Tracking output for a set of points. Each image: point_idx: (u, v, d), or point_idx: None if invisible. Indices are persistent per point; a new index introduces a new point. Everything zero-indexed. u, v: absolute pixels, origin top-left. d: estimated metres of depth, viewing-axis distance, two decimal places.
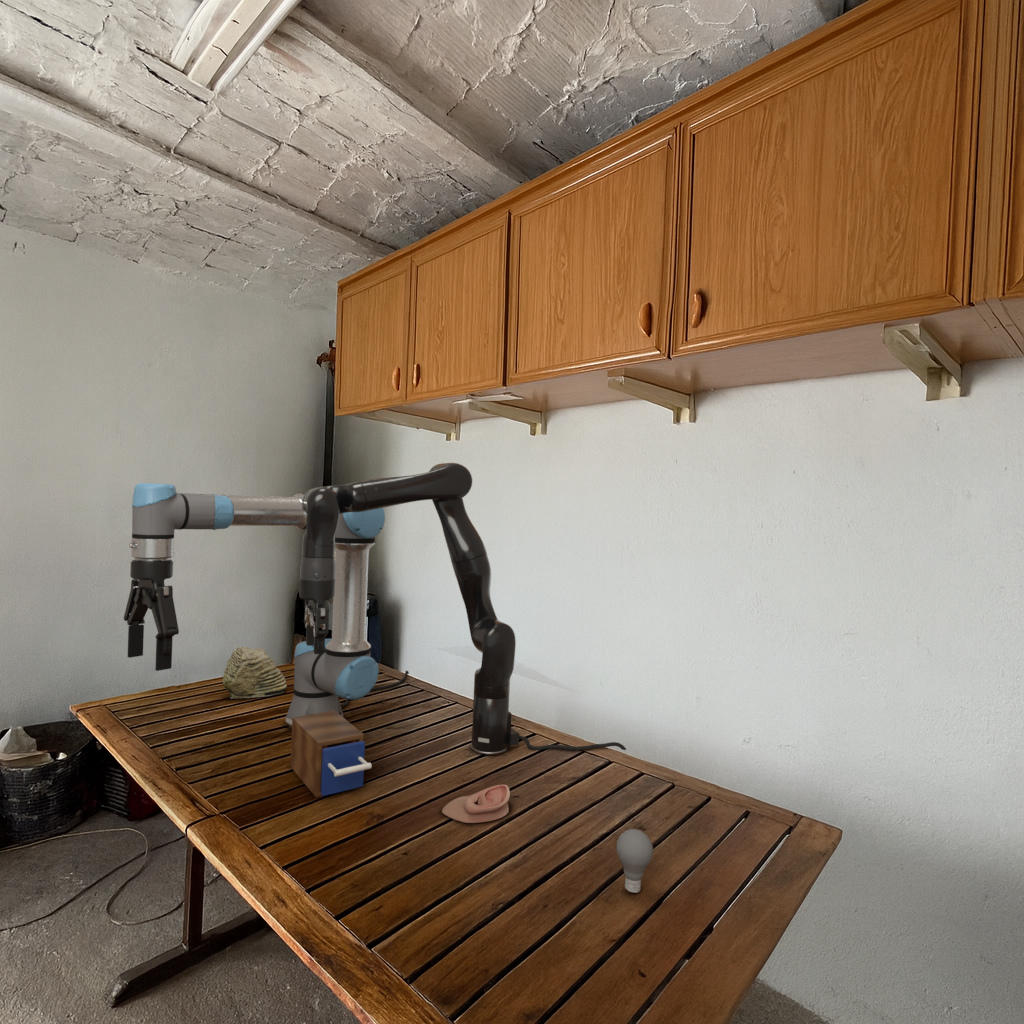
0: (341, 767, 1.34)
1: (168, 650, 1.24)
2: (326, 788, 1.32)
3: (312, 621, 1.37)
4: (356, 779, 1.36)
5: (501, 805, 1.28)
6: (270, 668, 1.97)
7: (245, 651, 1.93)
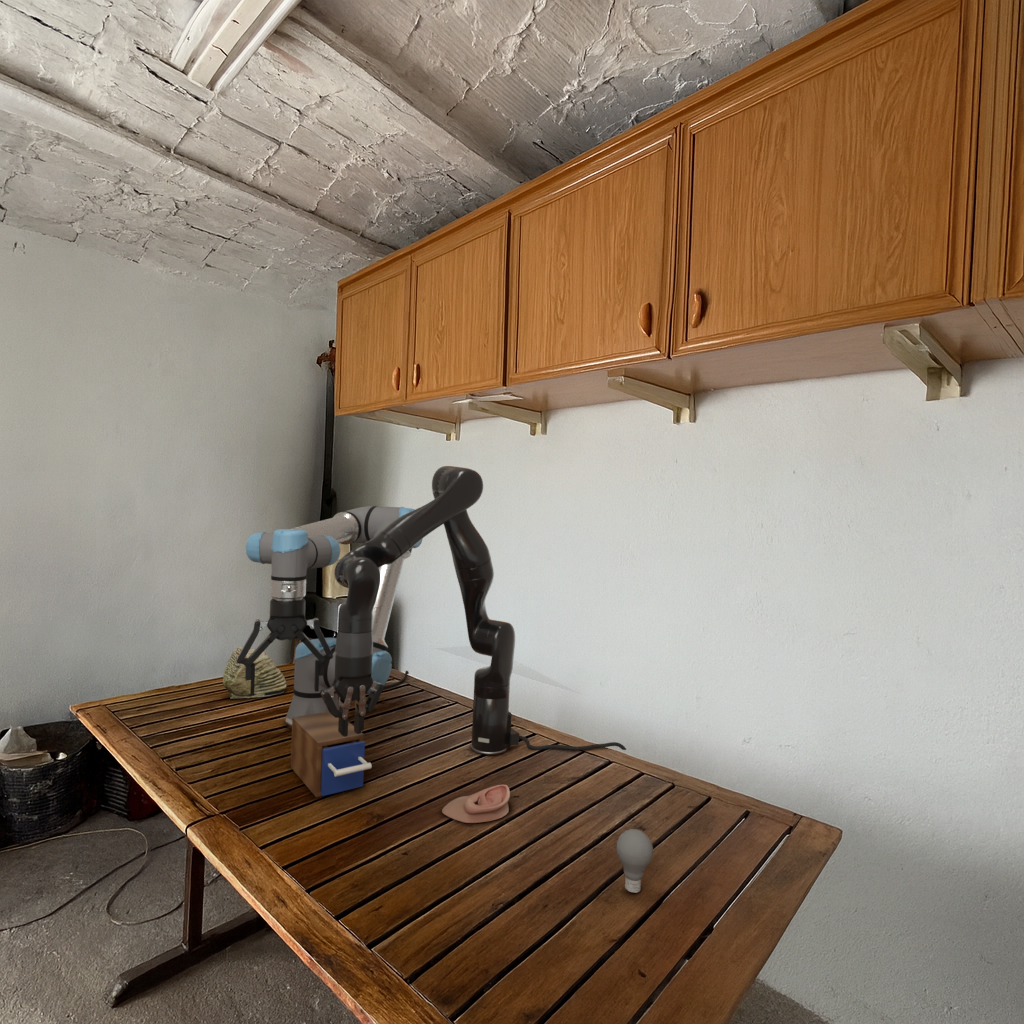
0: (341, 767, 1.34)
1: None
2: (326, 788, 1.32)
3: None
4: (356, 779, 1.36)
5: (501, 805, 1.28)
6: (270, 668, 1.97)
7: None
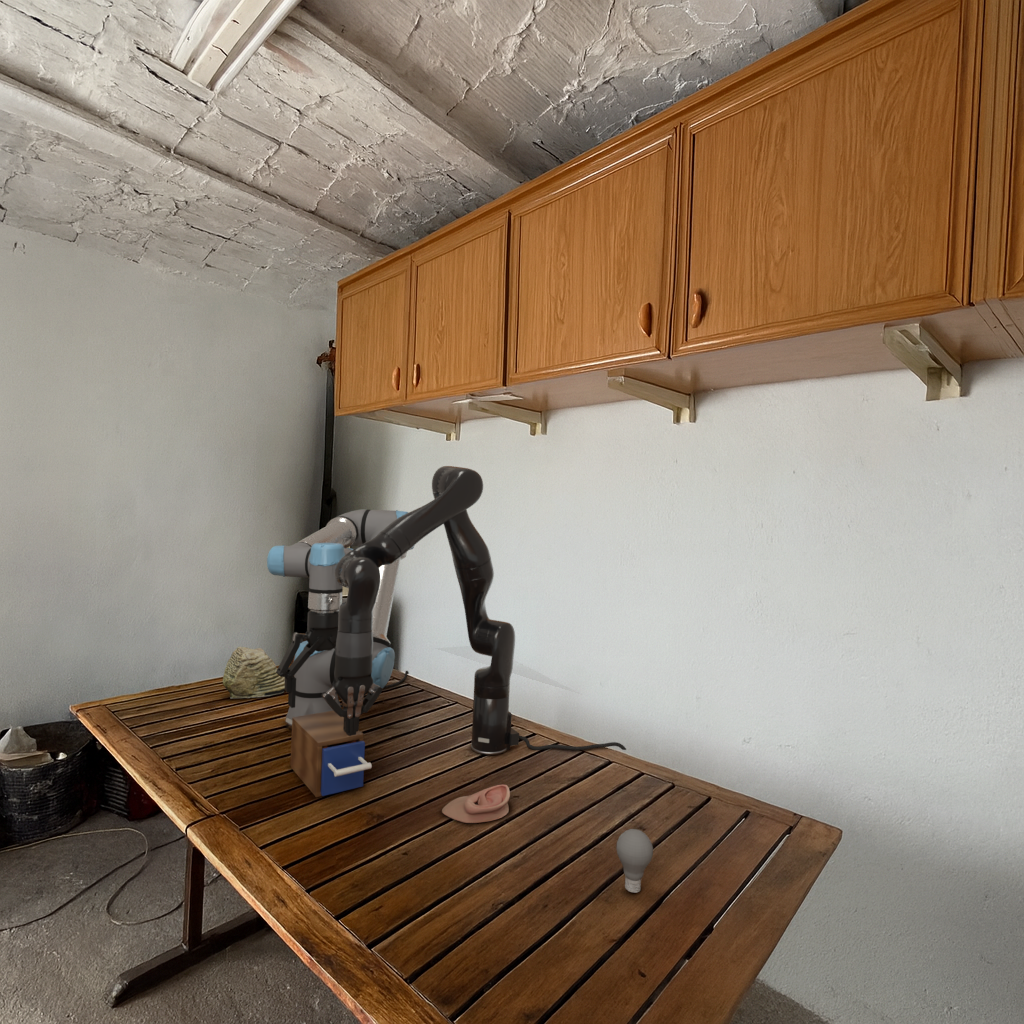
0: (341, 767, 1.34)
1: None
2: (326, 788, 1.32)
3: None
4: (356, 779, 1.36)
5: (501, 805, 1.28)
6: (270, 668, 1.97)
7: (245, 651, 1.93)
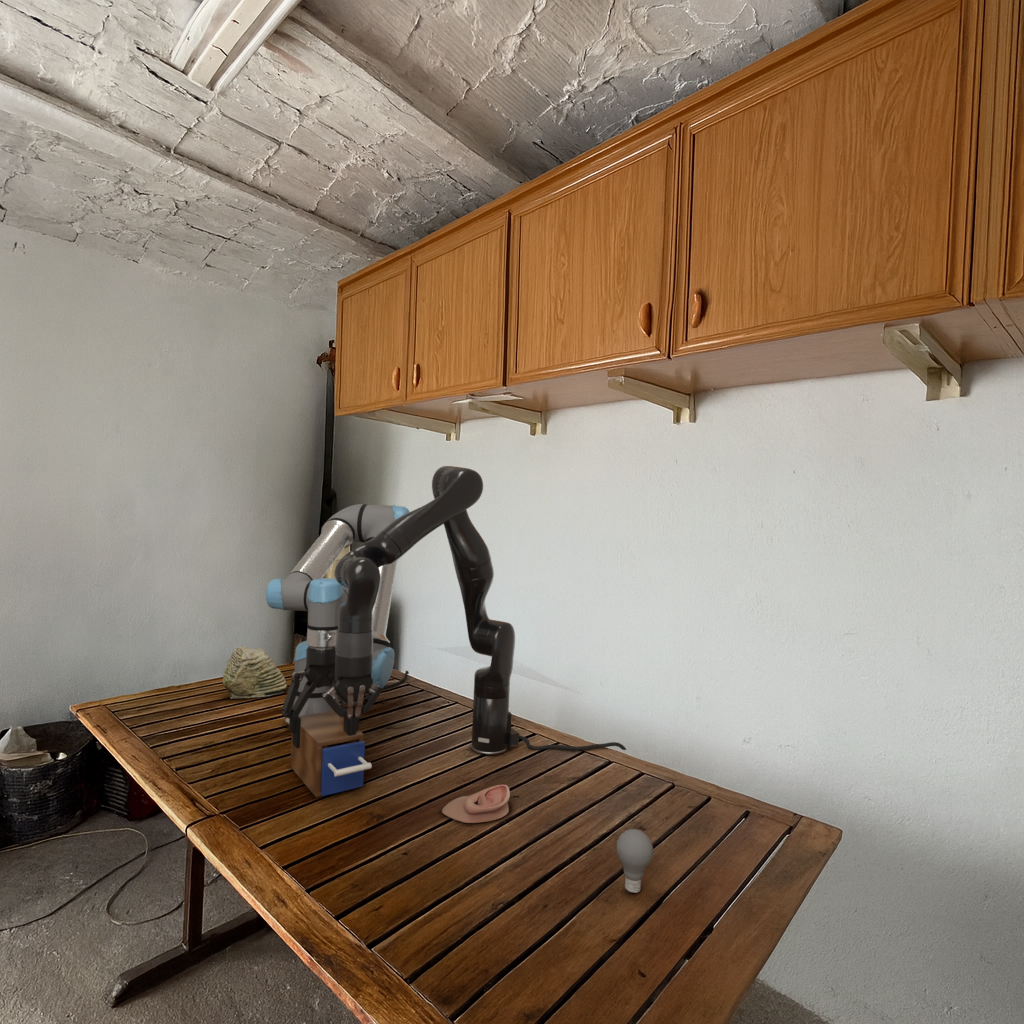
0: (341, 767, 1.34)
1: None
2: (326, 788, 1.32)
3: None
4: (356, 779, 1.36)
5: (501, 805, 1.28)
6: (270, 668, 1.97)
7: (245, 651, 1.93)
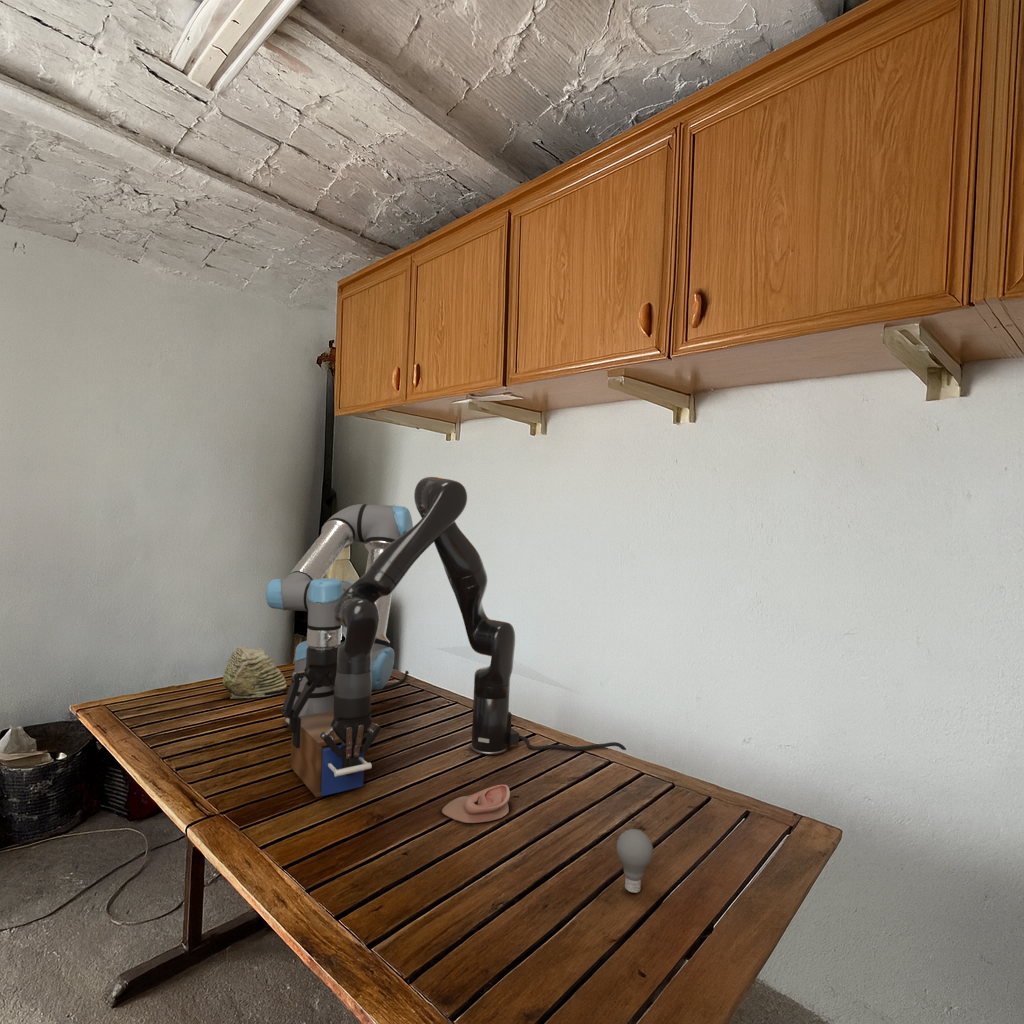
0: (341, 767, 1.34)
1: None
2: (326, 788, 1.32)
3: None
4: (356, 779, 1.36)
5: (501, 805, 1.28)
6: (270, 668, 1.97)
7: (245, 651, 1.93)
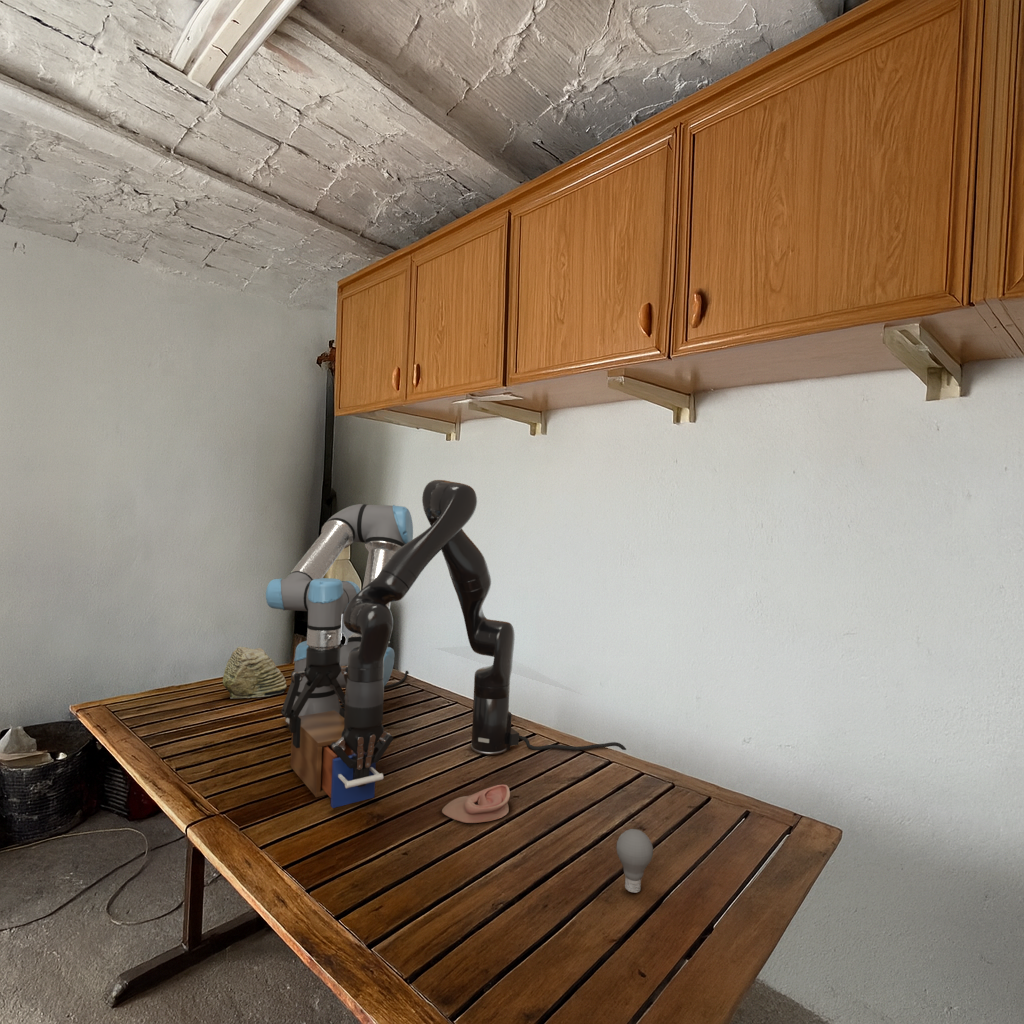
0: (352, 777, 1.29)
1: None
2: (336, 800, 1.28)
3: None
4: (367, 790, 1.31)
5: (501, 805, 1.28)
6: (270, 668, 1.97)
7: (245, 651, 1.93)
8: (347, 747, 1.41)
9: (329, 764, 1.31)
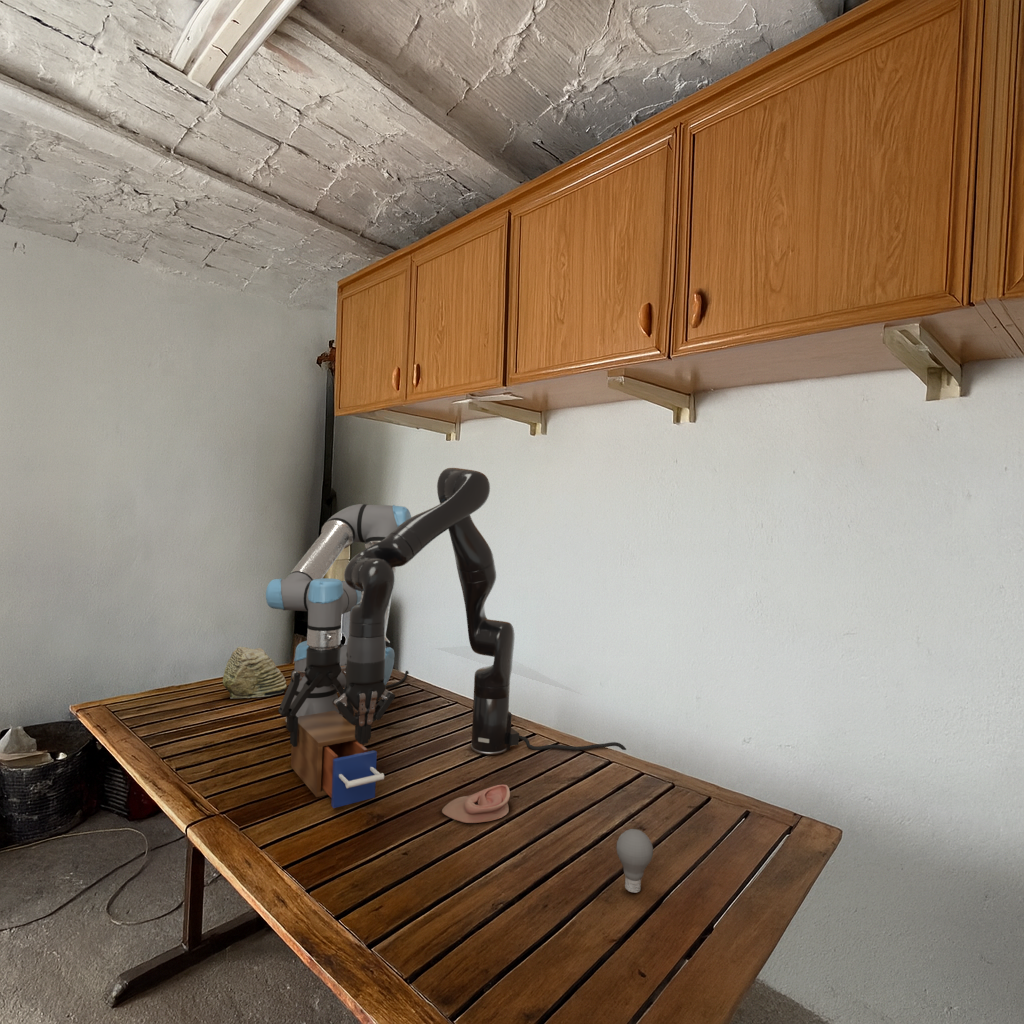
0: (352, 777, 1.29)
1: None
2: (337, 800, 1.28)
3: None
4: (368, 790, 1.31)
5: (501, 805, 1.28)
6: (270, 668, 1.97)
7: (245, 651, 1.93)
8: (348, 747, 1.41)
9: (330, 764, 1.31)
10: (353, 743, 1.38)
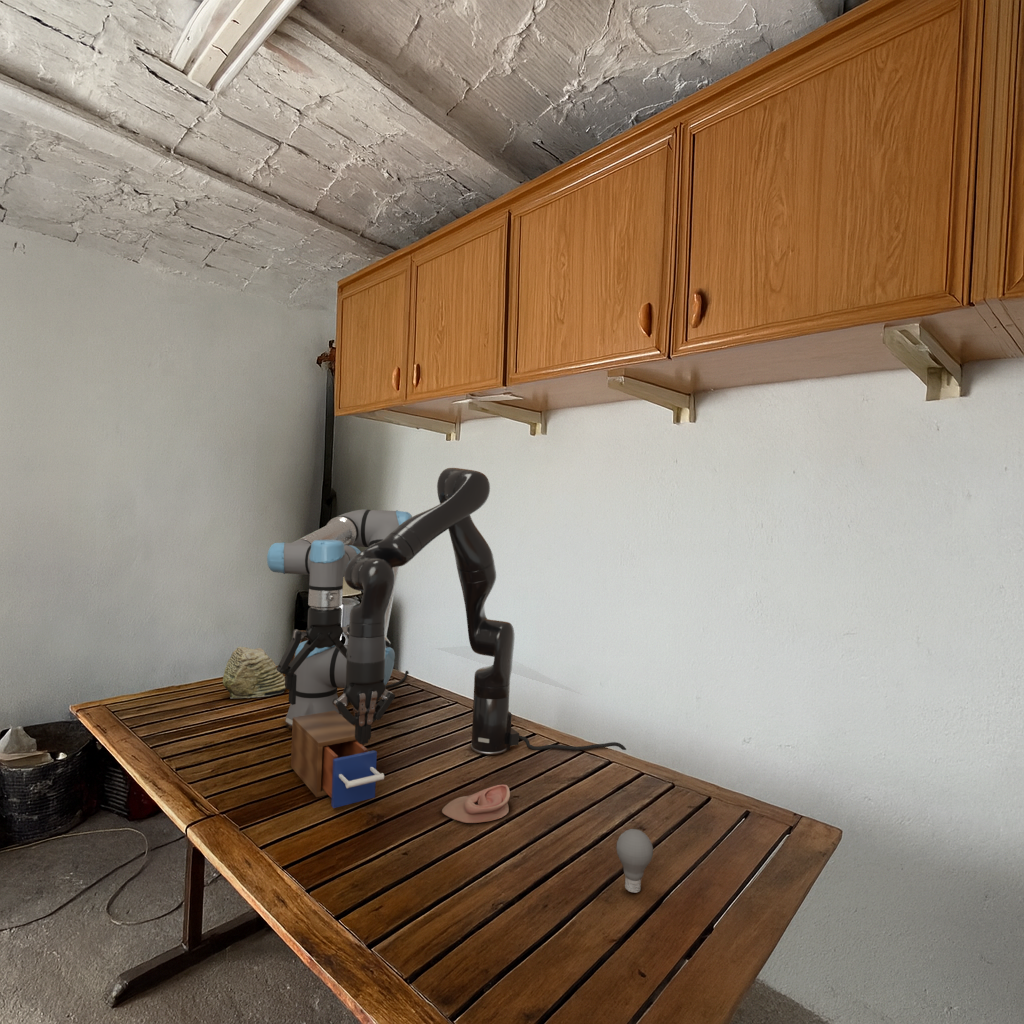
0: (352, 777, 1.29)
1: None
2: (337, 800, 1.28)
3: None
4: (368, 790, 1.31)
5: (501, 805, 1.28)
6: (270, 668, 1.97)
7: (245, 651, 1.93)
8: (348, 747, 1.41)
9: (330, 764, 1.31)
10: (353, 743, 1.38)
